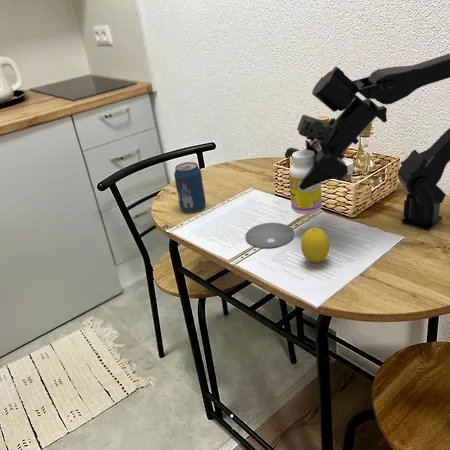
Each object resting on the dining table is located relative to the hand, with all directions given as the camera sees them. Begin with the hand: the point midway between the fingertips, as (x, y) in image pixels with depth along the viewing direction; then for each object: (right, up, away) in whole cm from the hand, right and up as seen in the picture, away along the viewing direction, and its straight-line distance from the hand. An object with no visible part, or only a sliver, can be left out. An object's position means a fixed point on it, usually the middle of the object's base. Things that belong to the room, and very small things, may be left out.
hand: (298, 181), depth 101 cm
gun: (+9, +4, +33) cm, 34 cm away
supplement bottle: (+2, -6, +3) cm, 7 cm away
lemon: (+3, -17, -5) cm, 18 cm away
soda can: (-24, -5, +25) cm, 35 cm away
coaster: (-6, -12, +6) cm, 14 cm away
